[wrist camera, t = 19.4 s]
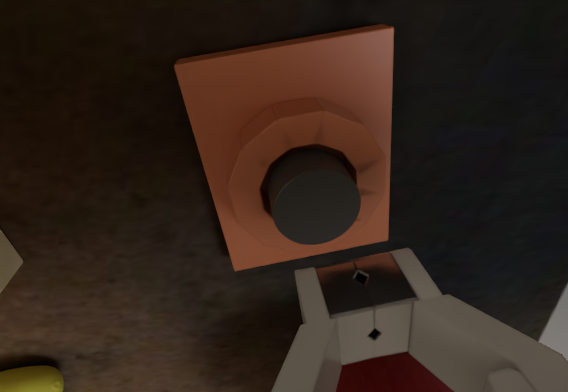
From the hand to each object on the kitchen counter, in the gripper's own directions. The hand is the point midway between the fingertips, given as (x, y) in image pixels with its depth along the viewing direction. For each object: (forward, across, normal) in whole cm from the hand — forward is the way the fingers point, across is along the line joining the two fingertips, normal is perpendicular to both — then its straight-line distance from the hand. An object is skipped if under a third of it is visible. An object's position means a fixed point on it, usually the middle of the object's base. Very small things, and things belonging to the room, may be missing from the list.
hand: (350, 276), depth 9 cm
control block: (+8, 0, 0) cm, 8 cm away
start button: (+5, 0, 0) cm, 5 cm away
